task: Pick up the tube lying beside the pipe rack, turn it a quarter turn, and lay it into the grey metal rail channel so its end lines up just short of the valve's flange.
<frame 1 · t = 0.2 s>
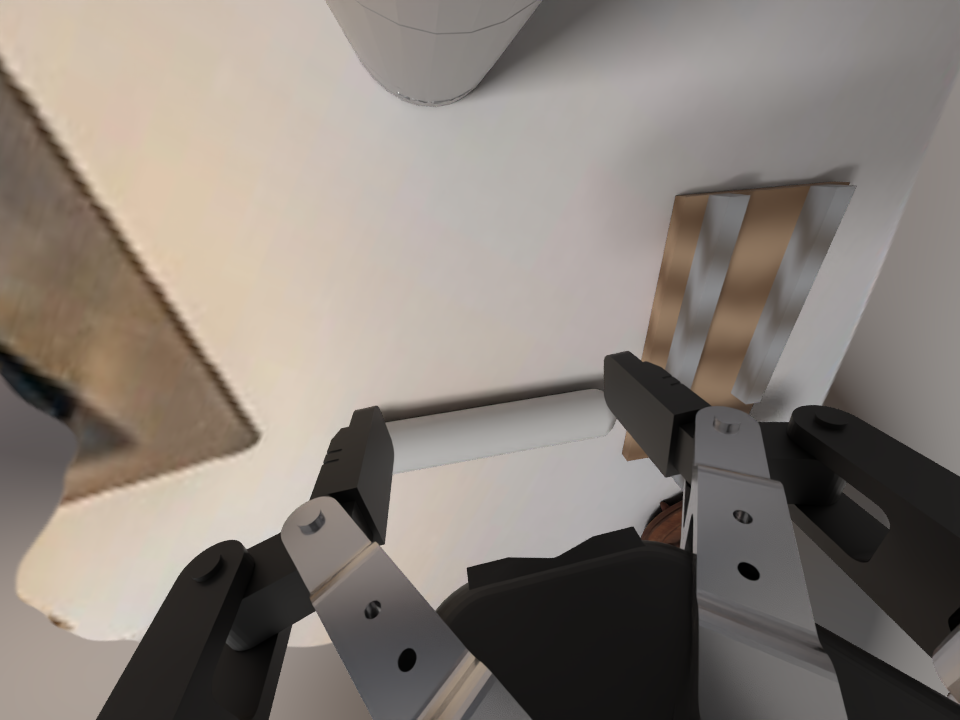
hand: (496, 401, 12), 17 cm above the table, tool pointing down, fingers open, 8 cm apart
pipe rack: (708, 343, 34), on the table
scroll: (681, 517, 50), on the table
tube: (485, 412, 35), on the table
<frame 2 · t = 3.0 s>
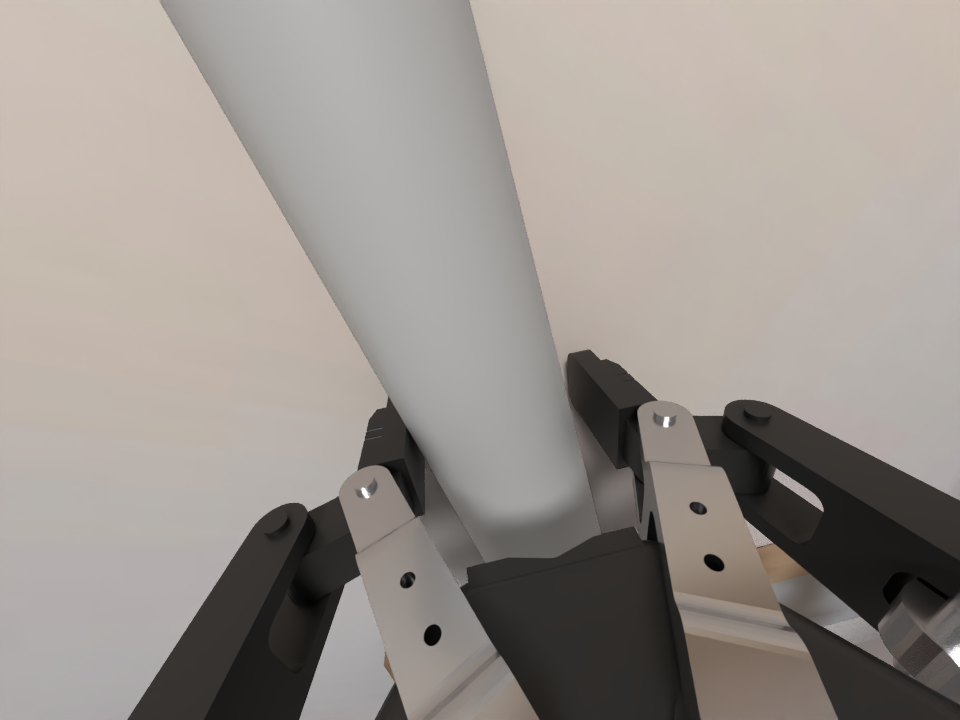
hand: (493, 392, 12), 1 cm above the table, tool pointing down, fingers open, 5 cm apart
pipe rack: (610, 638, 24), on the table
tube: (481, 377, 13), on the table, touching gripper
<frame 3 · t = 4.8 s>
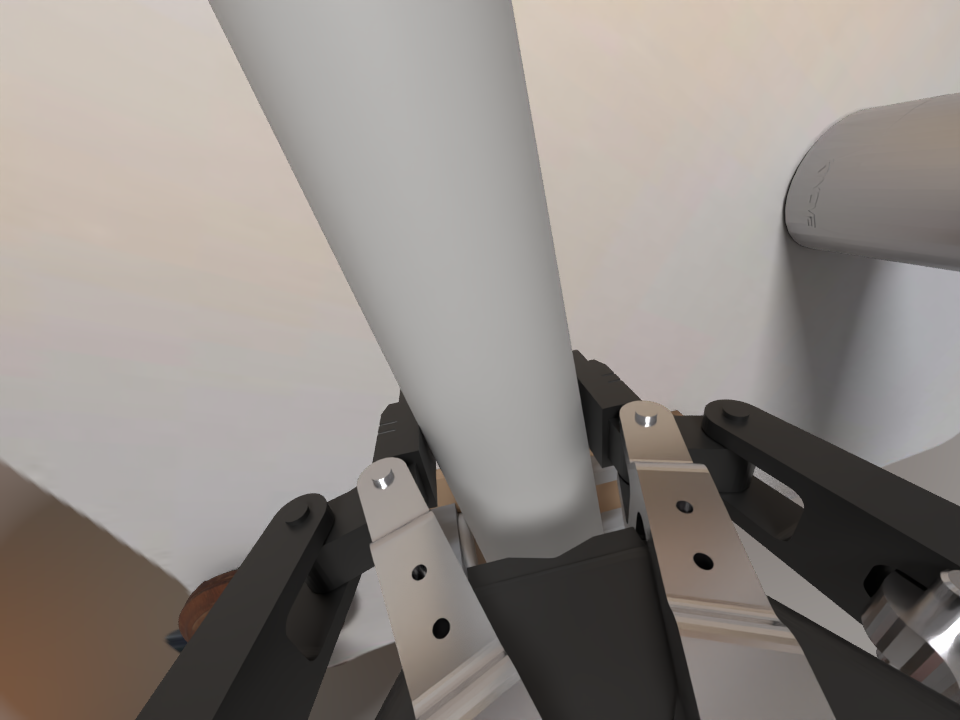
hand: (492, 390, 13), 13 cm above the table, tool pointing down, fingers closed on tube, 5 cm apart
pipe rack: (544, 494, 36), on the table
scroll: (276, 594, 36), on the table
tube: (488, 376, 13), point 13 cm above the table, touching gripper
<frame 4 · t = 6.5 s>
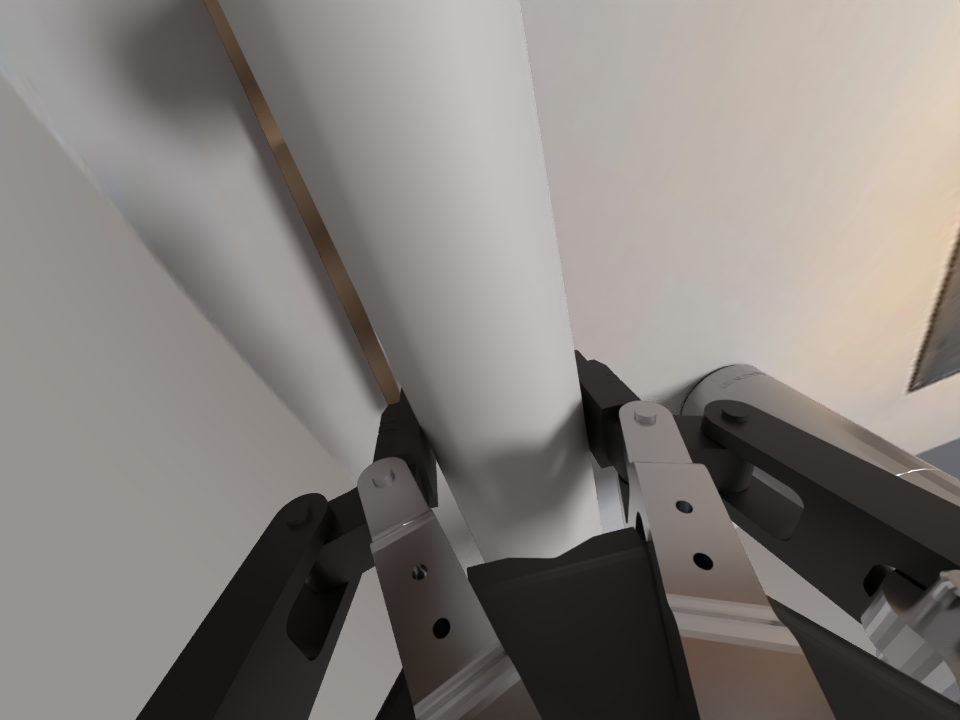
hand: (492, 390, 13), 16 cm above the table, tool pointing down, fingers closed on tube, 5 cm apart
pipe rack: (417, 216, 24), on the table
tube: (489, 378, 13), point 15 cm above the table, touching gripper
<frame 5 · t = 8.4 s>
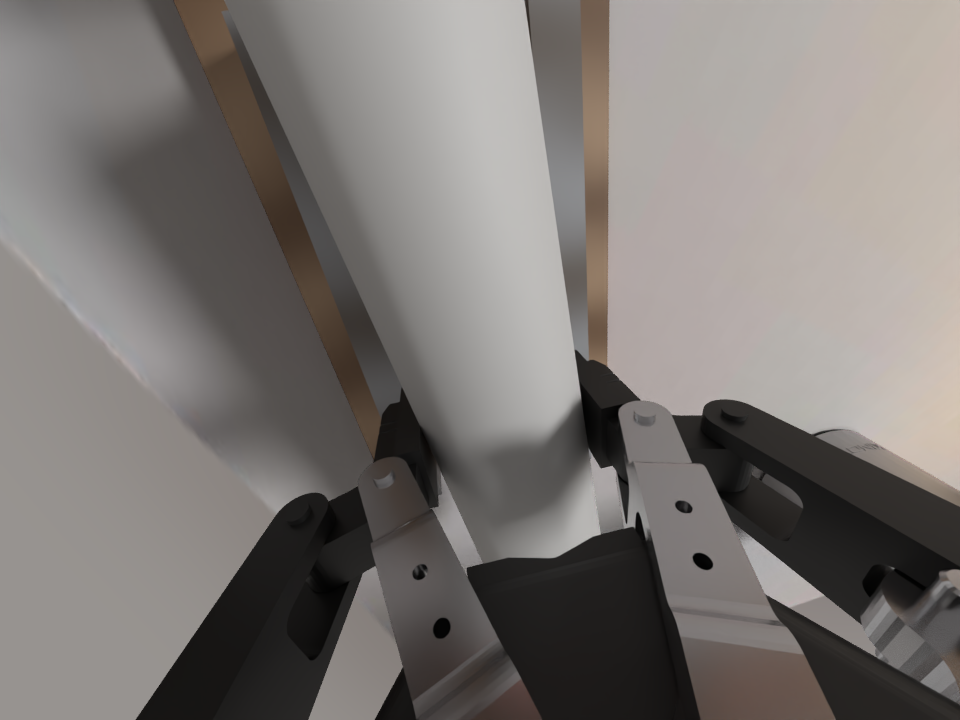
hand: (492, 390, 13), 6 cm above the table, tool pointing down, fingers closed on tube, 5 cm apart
pipe rack: (445, 205, 15), on the table
tube: (489, 379, 13), point 5 cm above the table, touching gripper
when the fingers open (4 cm above the table, at t = 9.7 s): tube drops 2 cm, resting on pipe rack.
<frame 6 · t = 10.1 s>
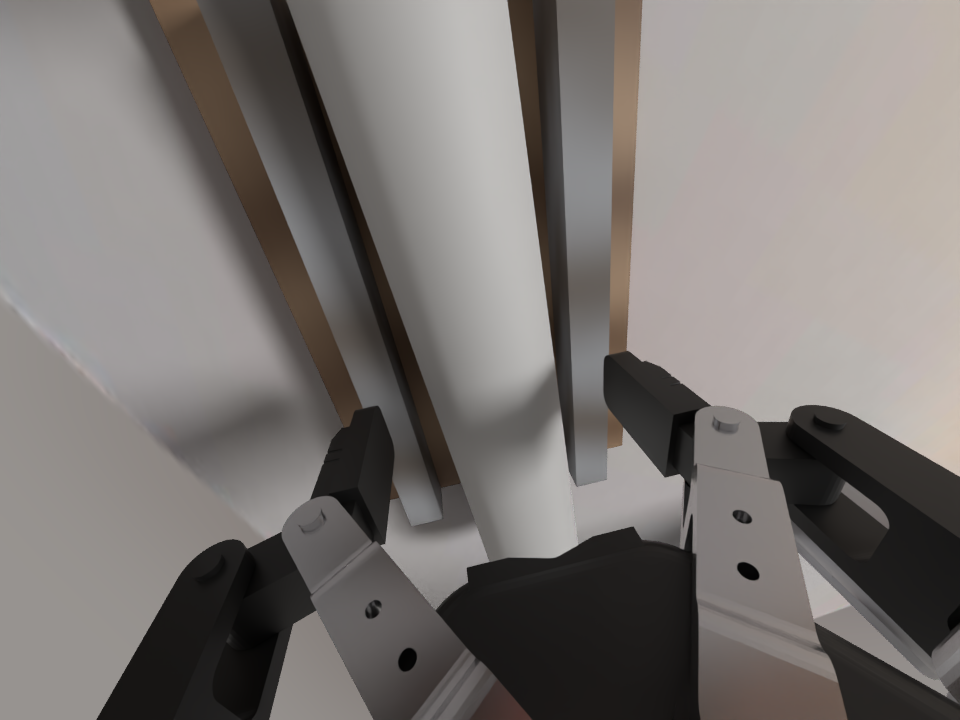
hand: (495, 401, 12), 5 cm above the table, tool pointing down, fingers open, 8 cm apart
pipe rack: (449, 200, 13), on the table
tube: (481, 352, 16), point 1 cm above the table, touching pipe rack
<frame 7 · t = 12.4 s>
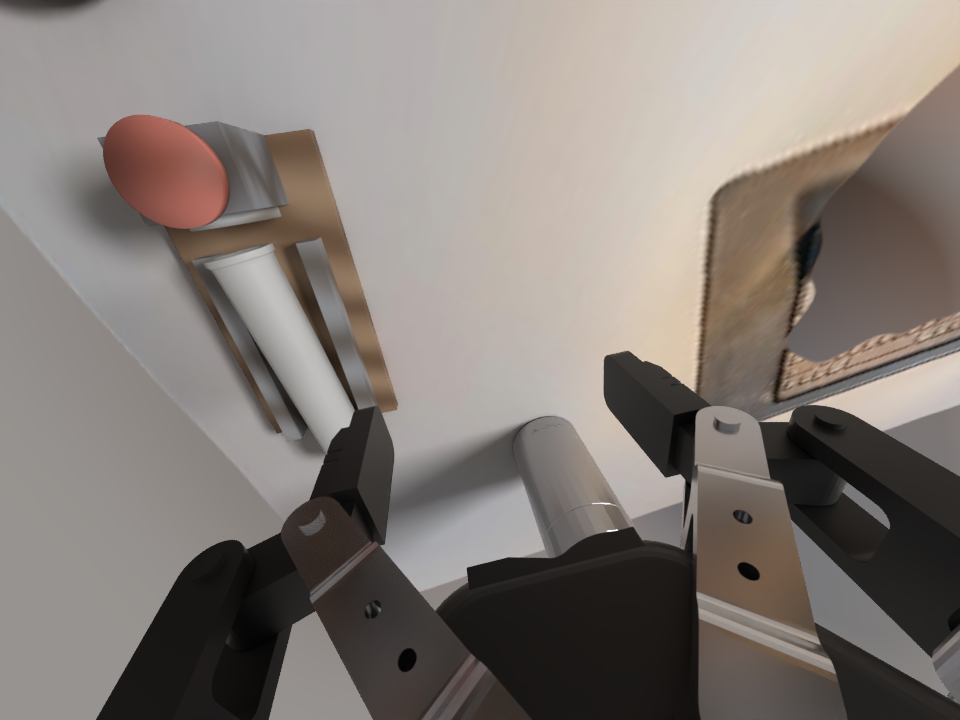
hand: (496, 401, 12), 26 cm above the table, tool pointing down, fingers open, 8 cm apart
pipe rack: (294, 305, 34), on the table
tube: (315, 363, 37), point 1 cm above the table, touching pipe rack
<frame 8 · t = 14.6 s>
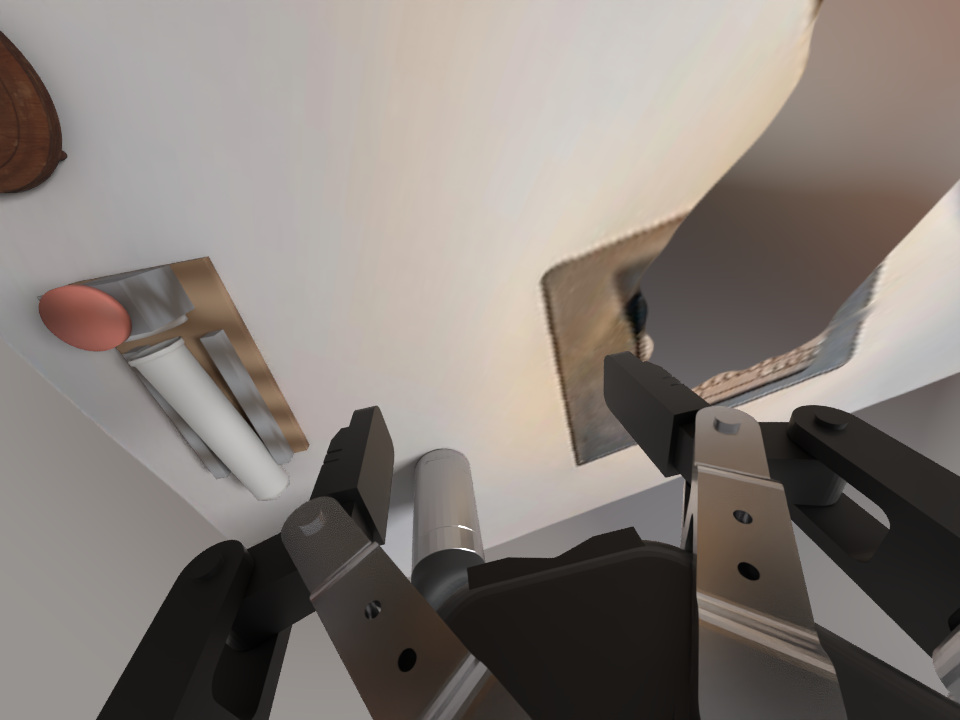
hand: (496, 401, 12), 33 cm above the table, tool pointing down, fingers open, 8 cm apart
pipe rack: (212, 375, 44), on the table
tube: (235, 418, 46), point 1 cm above the table, touching pipe rack
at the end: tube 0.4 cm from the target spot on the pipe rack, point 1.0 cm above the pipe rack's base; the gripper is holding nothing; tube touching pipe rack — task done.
